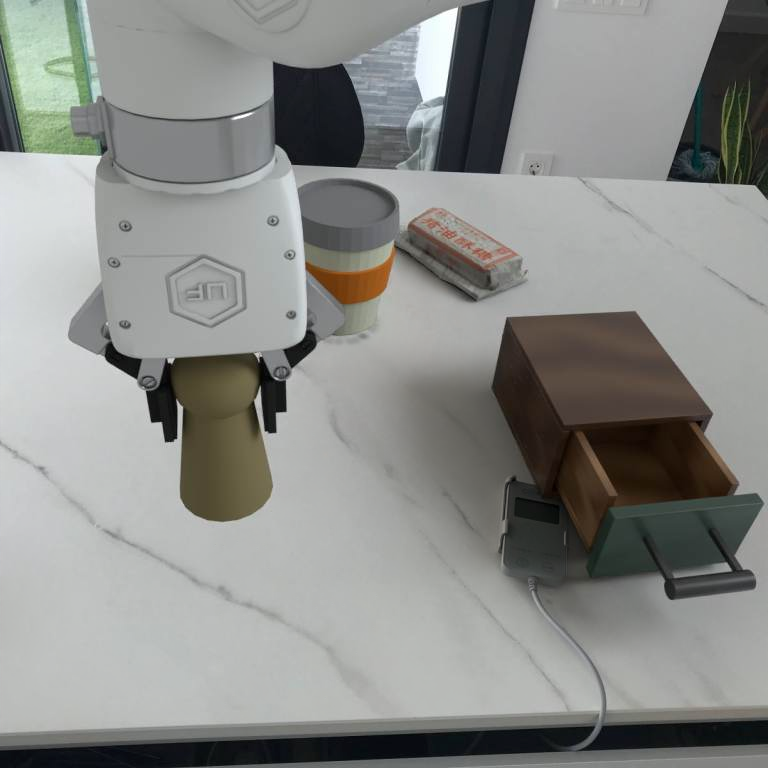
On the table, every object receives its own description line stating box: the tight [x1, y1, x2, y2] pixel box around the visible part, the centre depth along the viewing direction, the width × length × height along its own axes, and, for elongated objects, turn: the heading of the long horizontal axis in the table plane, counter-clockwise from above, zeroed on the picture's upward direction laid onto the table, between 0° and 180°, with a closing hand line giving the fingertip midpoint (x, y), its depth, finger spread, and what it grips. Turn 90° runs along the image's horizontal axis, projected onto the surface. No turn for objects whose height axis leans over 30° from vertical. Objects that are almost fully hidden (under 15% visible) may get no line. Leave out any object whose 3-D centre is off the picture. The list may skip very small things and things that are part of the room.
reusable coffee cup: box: [297, 177, 401, 336], centre depth 90 cm, size 13×13×15 cm
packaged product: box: [394, 207, 529, 302], centre depth 105 cm, size 18×5×10 cm
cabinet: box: [490, 310, 714, 500], centre depth 78 cm, size 17×15×10 cm
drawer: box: [554, 421, 765, 601], centre depth 68 cm, size 21×13×8 cm, turn 11°
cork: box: [170, 353, 274, 523], centre depth 47 cm, size 6×6×11 cm
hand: (220, 420), depth 47 cm, fingers closed on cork, 5 cm apart
